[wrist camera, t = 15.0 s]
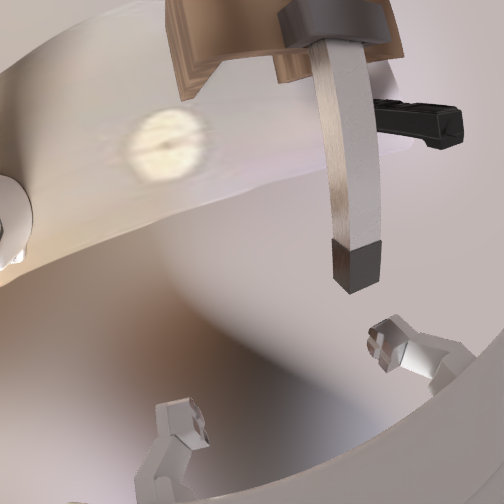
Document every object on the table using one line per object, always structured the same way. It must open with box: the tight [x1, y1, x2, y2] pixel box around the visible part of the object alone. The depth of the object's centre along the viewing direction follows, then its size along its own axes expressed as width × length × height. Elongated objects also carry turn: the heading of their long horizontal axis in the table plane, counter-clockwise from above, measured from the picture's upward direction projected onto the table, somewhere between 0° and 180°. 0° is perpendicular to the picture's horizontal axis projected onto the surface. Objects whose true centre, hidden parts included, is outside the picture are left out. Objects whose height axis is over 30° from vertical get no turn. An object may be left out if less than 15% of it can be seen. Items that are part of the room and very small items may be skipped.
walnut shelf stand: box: [165, 0, 404, 101], centre depth 21 cm, size 18×14×30 cm
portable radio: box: [373, 99, 464, 150], centre depth 34 cm, size 8×6×25 cm
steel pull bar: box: [307, 38, 382, 294], centre depth 17 cm, size 3×24×3 cm, turn 12°
